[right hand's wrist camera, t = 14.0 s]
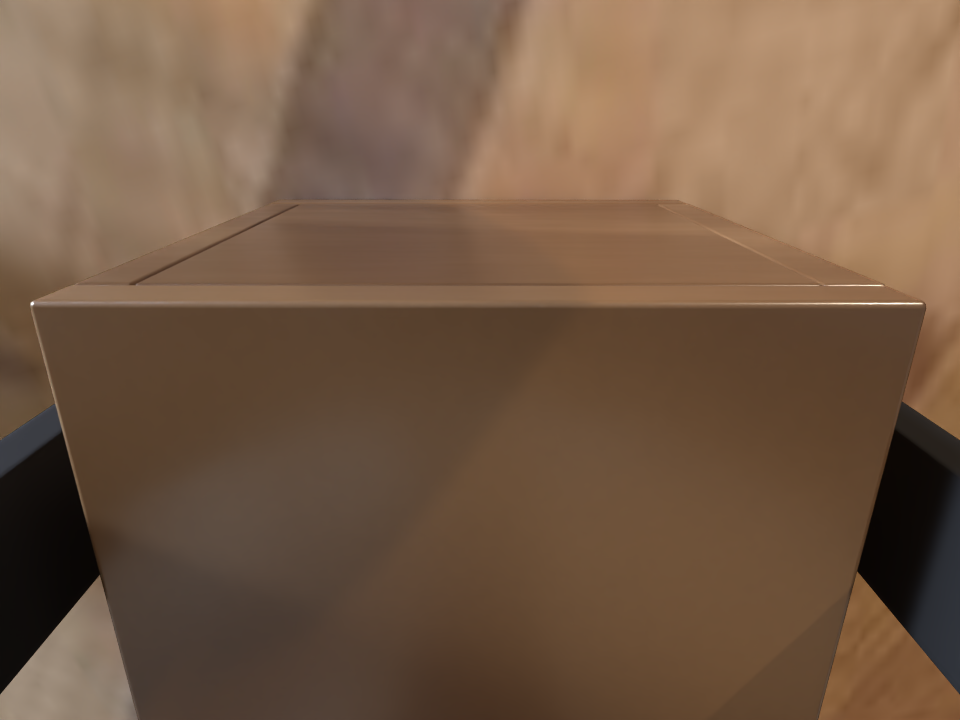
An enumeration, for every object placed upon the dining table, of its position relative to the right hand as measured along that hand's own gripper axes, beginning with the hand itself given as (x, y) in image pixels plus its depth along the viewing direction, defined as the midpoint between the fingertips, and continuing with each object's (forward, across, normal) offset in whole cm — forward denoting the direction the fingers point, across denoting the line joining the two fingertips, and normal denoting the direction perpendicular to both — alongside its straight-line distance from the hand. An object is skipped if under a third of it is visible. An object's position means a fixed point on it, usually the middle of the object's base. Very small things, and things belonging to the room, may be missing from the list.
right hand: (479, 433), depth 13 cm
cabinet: (+6, 0, -4) cm, 7 cm away
